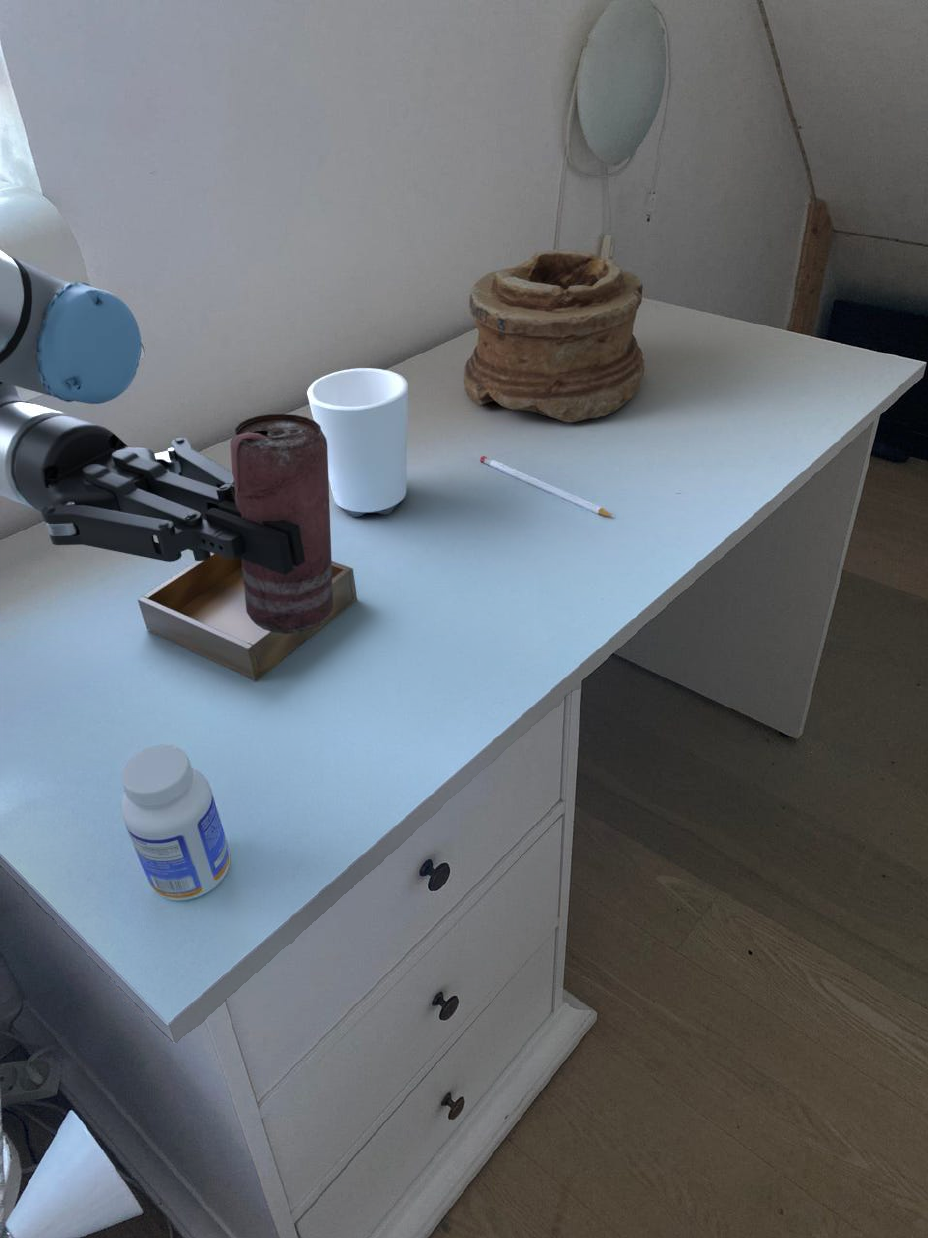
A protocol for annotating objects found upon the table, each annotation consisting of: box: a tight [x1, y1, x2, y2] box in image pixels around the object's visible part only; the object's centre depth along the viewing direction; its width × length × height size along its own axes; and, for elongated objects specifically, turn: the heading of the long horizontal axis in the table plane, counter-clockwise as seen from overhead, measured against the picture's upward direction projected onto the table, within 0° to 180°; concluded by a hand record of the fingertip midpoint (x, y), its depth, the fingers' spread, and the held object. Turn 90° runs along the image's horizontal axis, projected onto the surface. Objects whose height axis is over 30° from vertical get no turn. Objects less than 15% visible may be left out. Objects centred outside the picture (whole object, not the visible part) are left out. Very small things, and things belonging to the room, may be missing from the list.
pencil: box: [479, 455, 614, 518], centre depth 100 cm, size 1×19×1 cm, turn 44°
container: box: [463, 249, 646, 423], centre depth 116 cm, size 22×24×15 cm
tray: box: [137, 552, 358, 682], centre depth 83 cm, size 13×13×3 cm
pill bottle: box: [120, 744, 231, 902], centre depth 59 cm, size 5×5×10 cm
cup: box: [306, 367, 409, 518], centre depth 96 cm, size 10×10×13 cm
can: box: [230, 413, 333, 634], centre depth 64 cm, size 6×6×14 cm
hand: (292, 550), depth 60 cm, fingers closed on can
